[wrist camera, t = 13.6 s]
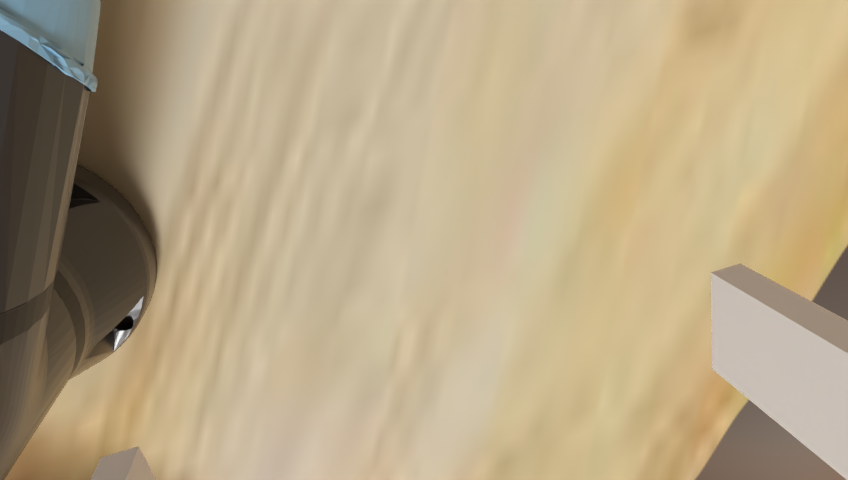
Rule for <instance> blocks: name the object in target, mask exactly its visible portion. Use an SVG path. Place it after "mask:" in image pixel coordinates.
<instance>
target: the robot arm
mask: <svg viewBox="0 0 848 480" xmlns="http://www.w3.org/2000/svg"><path fill="white" fill-rule="evenodd" d="M100 10H101V0H0V480H4V479H5V477H6V476H7V474H8V473H9V471H10V470H11V468H12V466H13V465H14V463H15V462H16V460H17V459H18V457H19V456H20V454H21V453H22V451H23V449H24V448H25V446H26V445H27V443H28V442H29V440H30V439H31V437H32V436H33V434H34V432H35V431H36V429H37V428H38V426H39V425H40V423H41V422H42V420H43V419H44V417H45V415H46V414H47V412H48V411H49V409H50V408H51V406H52V405H53V403H54V402H55V400H56V398H57V397H58V395H59V394H60V392H61V391H62V389H63V388H64V386H65V385H66V383H67V381H68V380H69V379H71V378H73V377H75V376H76V375H78V374H80V373H81V372H83V371H85V370H87V369H88V368H90V367H92V366H93V365H95V364H97V363H98V362H100V361H102V360H103V359H105V358H106V357H108V356H109V355H111V354H112V353H113V352H114V351H116V350H117V349H118V348H119V347H120V346H121V345H122V344H123V343H124V342H125V341H126V340H127V339H128V338H129V337H130V335H131V334H132V333H133V331H134V330H135V328H136V327H137V325H138V324H139V322H140V320H141V318H142V316H143V315H144V313H145V311H146V309H147V307H148V305H149V303H150V301H151V298H152V295H153V291H154V287H155V281H156V260H155V254H154V249H153V245H152V242H151V239H150V236H149V234H148V232H147V230H146V227H145V225H144V224H143V222H142V220H141V219H140V217H139V216H138V214H137V213H136V211H135V210H134V209H133V207H132V206H131V205H130V204H129V202H128V201H127V200H126V199H125V198H124V197H123V196H122V195H121V194H120V193H119V192H118V191H117V190H116V189H114V188H113V187H112V186H111V185H110V184H108V183H107V182H106V181H104V180H103V179H101V178H100V177H98V176H97V175H95V174H94V173H92V172H90V171H88V170H87V169H85V168H83V167H81V166H79V165H77V161H78V155H79V150H80V144H81V139H82V133H83V127H84V122H85V116H86V111H87V105H88V99H89V94H90V91H92V92H96V88H97V78H96V77H95V76H94V74H93V65H94V57H95V49H96V41H97V33H98V25H99V18H100ZM711 321H712V369H713V370H714V371H715V372H716V373H718V374H719V375H720V376H721V377H722V378H724V379H725V380H726V381H727V382H729V383H730V384H731V385H732V386H733V387H735V388H736V389H737V390H738V391H739V392H741V393H742V394H743V395H744V396H746V397H747V398H748V399H749V400H750V401H752V402H753V403H754V404H755V405H757V406H758V407H759V408H760V409H761V410H763V411H764V412H765V413H766V414H767V415H769V416H770V417H771V418H772V419H774V420H775V421H776V422H777V423H778V424H780V425H781V426H782V427H783V428H785V429H786V430H787V431H788V432H789V433H791V434H792V435H793V436H794V437H795V438H797V439H798V440H799V441H800V442H802V443H803V444H804V445H805V446H806V447H808V448H809V449H810V450H811V451H813V452H814V453H815V454H816V455H817V456H819V457H820V458H821V459H822V460H823V461H825V462H826V463H827V464H828V465H829V466H831V467H832V468H833V469H834V470H836V471H837V472H838V473H839V474H840V475H842V476H843V477H844V478H845V479H846V480H848V321H847V320H845V319H843V318H842V317H840V316H838V315H836V314H834V313H832V312H830V311H828V310H827V309H825V308H822V307H821V306H819V305H817V304H815V303H813V302H811V301H810V300H808V299H806V298H804V297H802V296H800V295H798V294H796V293H795V292H793V291H791V290H789V289H787V288H785V287H783V286H781V285H779V284H778V283H776V282H774V281H772V280H770V279H768V278H766V277H764V276H763V275H761V274H759V273H757V272H755V271H753V270H751V269H749V268H747V267H746V266H744V265H742V264H738V265H734V266H731V267H728V268H724V269H721V270H718V271H715V272H711ZM91 480H156V478H155V477H154V475H153V473H152V471H151V469H150V467H149V465H148V463H147V461H146V459H145V457H144V456H143V454H142V452H141V450H140V448H139V446H138V447H135V448H132V449H128V450H125V451H122V452H118V453H115V454H112V455H109V456H105V457H102V458H100V461H99V463H98V465H97V467H96V469H95V471H94V474H93V476H92V478H91Z"/></svg>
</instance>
